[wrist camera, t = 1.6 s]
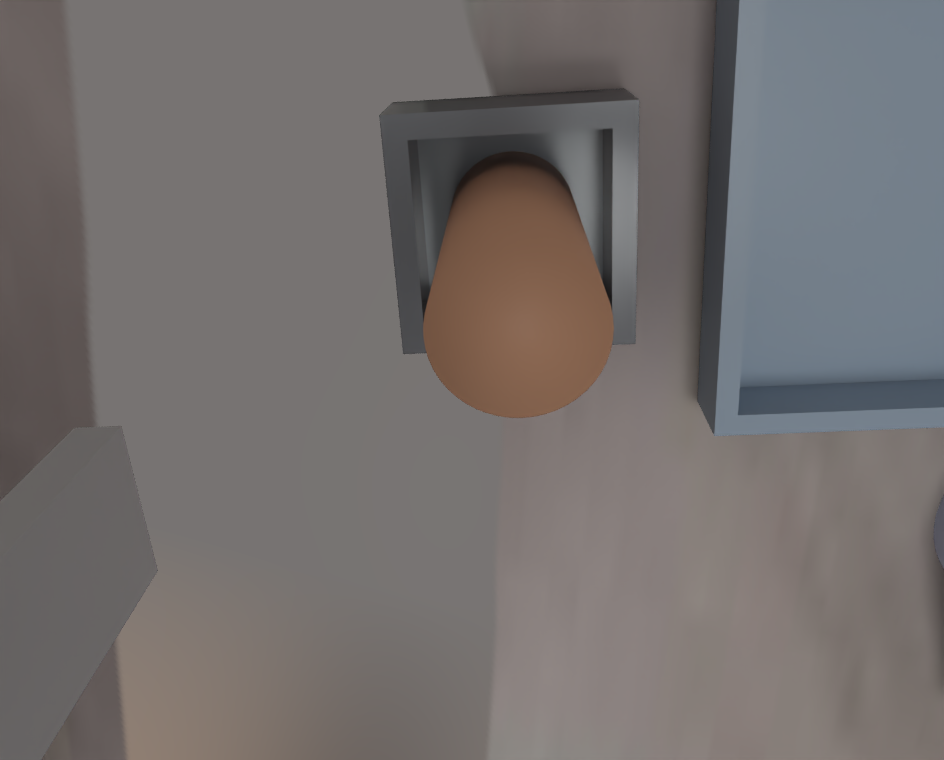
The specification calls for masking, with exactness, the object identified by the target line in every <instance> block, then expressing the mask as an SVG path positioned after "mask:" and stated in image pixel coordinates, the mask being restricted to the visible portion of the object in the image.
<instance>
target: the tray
mask: <svg viewBox="0 0 944 760" xmlns="http://www.w3.org/2000/svg"><path fill="white" fill-rule="evenodd" d="M698 403H699V405H700V407H701V409H702V411H703V413H704V416H705V418H706V420H707V422H708V424H709V426H710V428H711V430H712V432H713V434H714V436H727V435H753V434H779V433H805V432H831V431H857V430H883V429H909V428H935V427H944V0H717V6H716V27H715V48H714V69H713V89H712V110H711V131H710V152H709V172H708V193H707V214H706V235H705V255H704V276H703V297H702V318H701V339H700V359H699V380H698Z"/></svg>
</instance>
